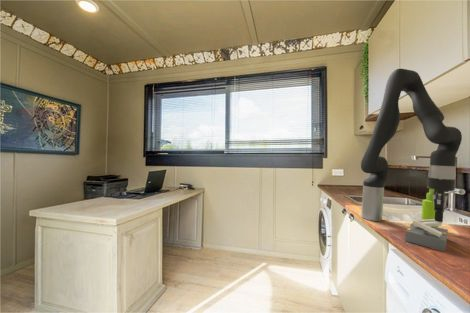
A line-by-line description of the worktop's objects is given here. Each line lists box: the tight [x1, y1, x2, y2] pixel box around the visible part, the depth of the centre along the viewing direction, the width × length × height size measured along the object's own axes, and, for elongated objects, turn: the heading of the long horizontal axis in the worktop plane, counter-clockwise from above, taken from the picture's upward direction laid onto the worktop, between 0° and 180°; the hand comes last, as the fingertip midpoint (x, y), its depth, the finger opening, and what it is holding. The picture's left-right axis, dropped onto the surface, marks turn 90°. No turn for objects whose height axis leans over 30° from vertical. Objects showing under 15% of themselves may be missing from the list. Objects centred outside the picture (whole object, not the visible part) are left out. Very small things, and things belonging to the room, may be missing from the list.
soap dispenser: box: [420, 185, 439, 227], centre depth 98 cm, size 6×7×20 cm
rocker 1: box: [413, 221, 443, 227], centre depth 84 cm, size 3×8×1 cm, turn 42°
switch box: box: [404, 223, 449, 252], centre depth 84 cm, size 18×11×5 cm, turn 132°
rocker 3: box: [417, 219, 444, 224], centre depth 88 cm, size 3×8×1 cm, turn 42°
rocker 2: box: [411, 219, 442, 237], centre depth 79 cm, size 3×8×1 cm, turn 42°
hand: (438, 221), depth 81 cm, fingers closed
